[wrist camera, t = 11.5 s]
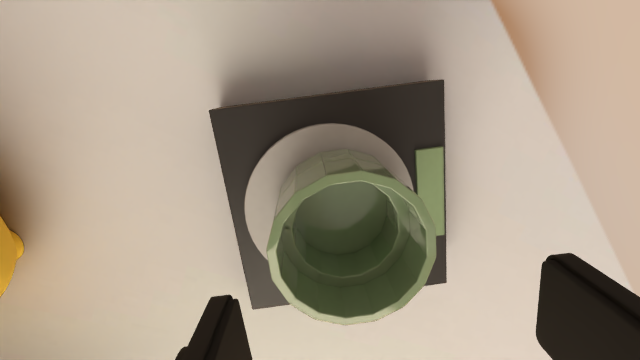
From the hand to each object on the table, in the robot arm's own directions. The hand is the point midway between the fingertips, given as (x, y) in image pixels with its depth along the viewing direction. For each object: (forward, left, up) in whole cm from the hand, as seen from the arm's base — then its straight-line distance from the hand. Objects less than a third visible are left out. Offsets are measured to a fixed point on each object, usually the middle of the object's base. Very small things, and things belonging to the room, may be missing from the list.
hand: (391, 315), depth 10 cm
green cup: (+1, 0, -9) cm, 9 cm away
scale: (+1, 0, -12) cm, 12 cm away
